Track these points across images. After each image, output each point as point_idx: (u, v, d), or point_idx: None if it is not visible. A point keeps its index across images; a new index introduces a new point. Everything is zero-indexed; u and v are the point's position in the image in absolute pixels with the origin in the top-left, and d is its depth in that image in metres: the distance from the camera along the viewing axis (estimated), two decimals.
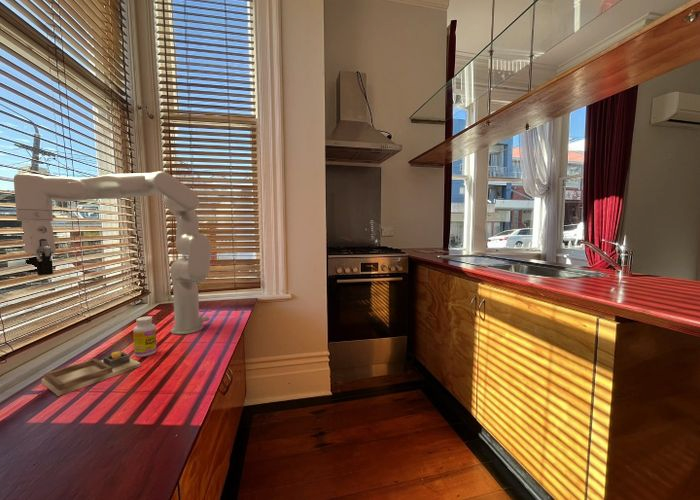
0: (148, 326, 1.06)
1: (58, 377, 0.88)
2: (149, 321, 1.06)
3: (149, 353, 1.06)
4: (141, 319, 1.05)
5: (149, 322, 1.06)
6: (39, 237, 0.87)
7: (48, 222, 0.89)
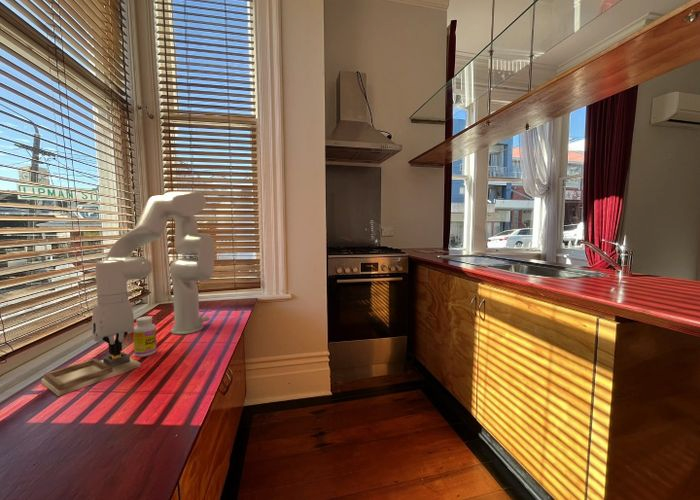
0: (148, 326, 1.06)
1: (58, 377, 0.88)
2: (149, 321, 1.06)
3: (149, 353, 1.06)
4: (141, 319, 1.05)
5: (149, 322, 1.06)
6: None
7: None
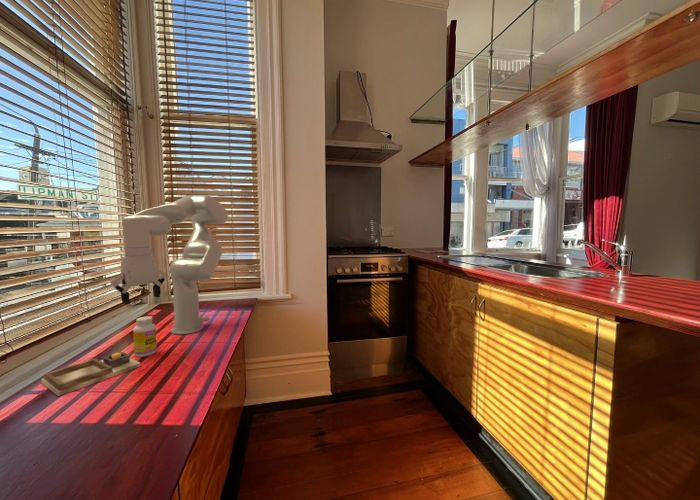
0: (148, 326, 1.06)
1: (58, 377, 0.88)
2: (149, 321, 1.06)
3: (149, 353, 1.06)
4: (141, 319, 1.05)
5: (149, 322, 1.06)
6: None
7: None
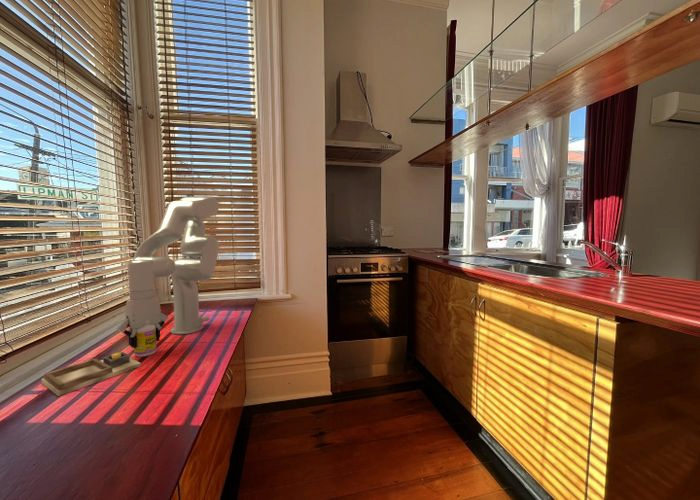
0: (148, 325, 1.06)
1: (58, 377, 0.88)
2: (149, 321, 1.06)
3: (149, 353, 1.06)
4: None
5: None
6: None
7: None
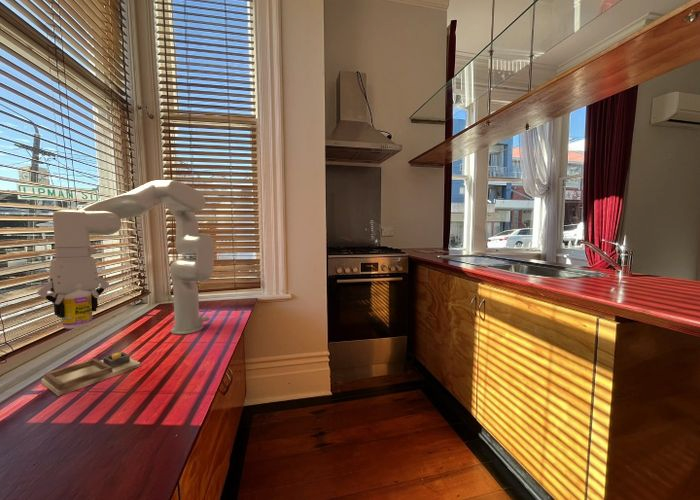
0: (80, 291, 0.87)
1: (58, 377, 0.88)
2: (81, 286, 0.87)
3: (81, 324, 0.86)
4: None
5: None
6: None
7: None
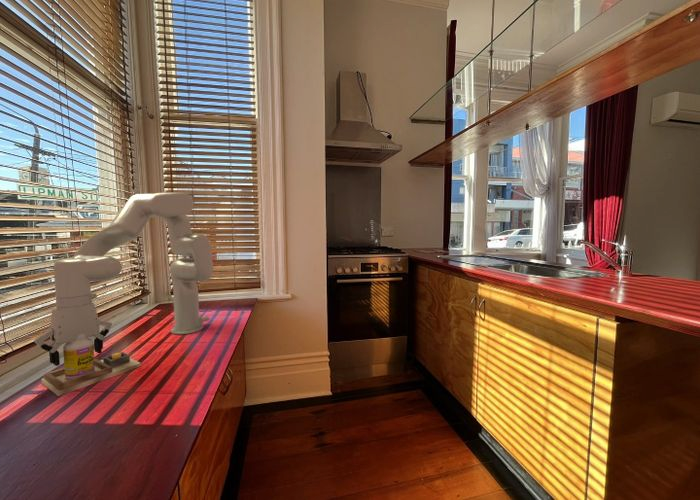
0: (82, 342, 0.88)
1: (58, 377, 0.88)
2: (83, 336, 0.88)
3: (83, 375, 0.87)
4: None
5: (83, 337, 0.88)
6: None
7: None
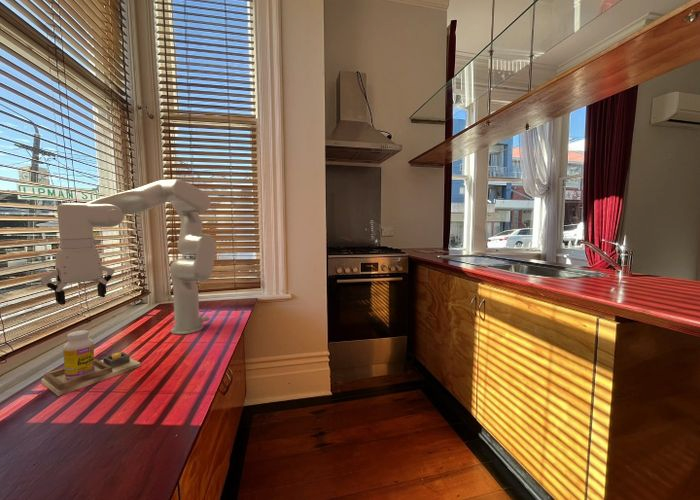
0: (82, 342, 0.88)
1: (58, 377, 0.88)
2: (83, 336, 0.88)
3: (83, 375, 0.87)
4: (73, 334, 0.87)
5: (83, 337, 0.88)
6: None
7: None
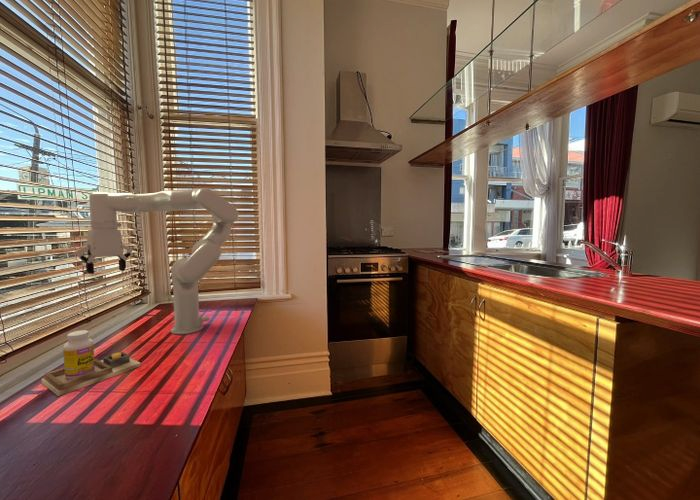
0: (82, 342, 0.88)
1: (58, 377, 0.88)
2: (83, 336, 0.88)
3: (83, 375, 0.87)
4: (73, 334, 0.87)
5: (83, 337, 0.88)
6: (121, 242, 1.15)
7: None
